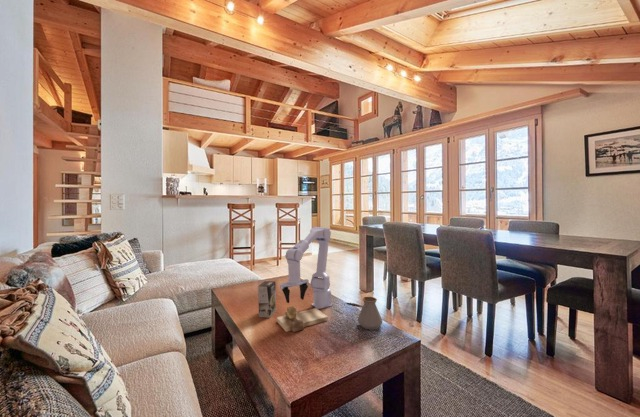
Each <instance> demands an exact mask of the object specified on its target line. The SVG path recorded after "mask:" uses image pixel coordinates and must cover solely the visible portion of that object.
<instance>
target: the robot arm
mask: <svg viewBox="0 0 640 417" xmlns="http://www.w3.org/2000/svg"><path fill="white" fill-rule="evenodd" d="M331 233H332V231H331V229H330V228H329V227H327V226H326V227H324V226H323V227H320V226H313V227H311V229H310V230H309V233H308V234H307V236H306V237H305V238H304V239H300V240H299V241H298V242H297V243H296V244H295V245H294V246H293V247H292V248H289V249H287V250H286V253H285V256H284V257H285V259H286V263H287V264H288V265H287V266H288V271H287V272H288V281H286V282H284V283H280V284H279V289H280V290H282V292H283V294H284V298H285V301H286V303H287V304H289V303H290V292H291V291H290V289H289V288H292V287H299V292H300V294H299V295H300V296H299V298H300V299H301V301H303V300H304V299H305V294H306V292H307V290H308V287H309V283H310V287H311V288H312V290H313V302H312V303H311V305H312V306H313V307H314V308H317V309H318V310H319V309H324V308H328V307H332V306H333V304H332V292H331V289H330V285H331V281H330V276H329V274H327V273H326V272H327V271H326V270H327V262H328V252H329V243H330V241H331V235H332V234H331ZM314 241H316V242H317V243H318V254H317V263H316V271H315V272H314V273H313V274H312V276H311V278H310V281H309V279H307V278H306V279H301V261H302V259H303V257H304V254H305V253H306V251H307V250H308V249H309V248H310V245H311V244H312V242H314Z"/></svg>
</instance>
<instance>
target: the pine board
mask: <svg viewBox="0 0 640 417" xmlns="http://www.w3.org/2000/svg"><path fill="white" fill-rule="evenodd" d="M328 317H329V316H328V315H326V314H325V313H324V312H322V311H321V310H319V309H317V308H315V307H314V308H310V309H306V310H302V311H298V312H296V319H297V320H302V321H303V328H305V327H308V326H313V325H316V324H320V323H323V322H327V321H329V318H328ZM276 322H277V323H278V325H280V327H281V328H282V329H283V330H284V331H285V332H286V333H287V332H291V331H292V328H291V322H292V321H291V320H290V319H289V318H288V317H287V316H286V315H285V314H284V315H281V316H277V317H276Z"/></svg>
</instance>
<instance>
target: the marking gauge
mask: <svg viewBox="0 0 640 417" xmlns="http://www.w3.org/2000/svg"><path fill="white" fill-rule="evenodd" d="M296 313H297V308H295V307H294V306H293V305H292V306H287V307H286V312H284V316H285V315H286V316H287V317H288V318H289V319H290V320H291V321H292V322H291V328H292V330H291V331H292V332H293V333H295V332H299V331H302V330H304V327H303V321H302V320H297V319H296Z"/></svg>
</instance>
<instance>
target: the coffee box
mask: <svg viewBox="0 0 640 417" xmlns="http://www.w3.org/2000/svg"><path fill="white" fill-rule="evenodd" d="M257 292H258V294H257V295H258V317H259V318H265V319H266V318H268V319H270V318H271V317H272V316H273V314H275V312H277V301H276V300H277V298H276V297H277V294H276V292H277V290H276V280H275V281H272V280H268V281H267V280H264V281H263V282H262V283H260V284H259V285H258V287H257Z"/></svg>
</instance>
